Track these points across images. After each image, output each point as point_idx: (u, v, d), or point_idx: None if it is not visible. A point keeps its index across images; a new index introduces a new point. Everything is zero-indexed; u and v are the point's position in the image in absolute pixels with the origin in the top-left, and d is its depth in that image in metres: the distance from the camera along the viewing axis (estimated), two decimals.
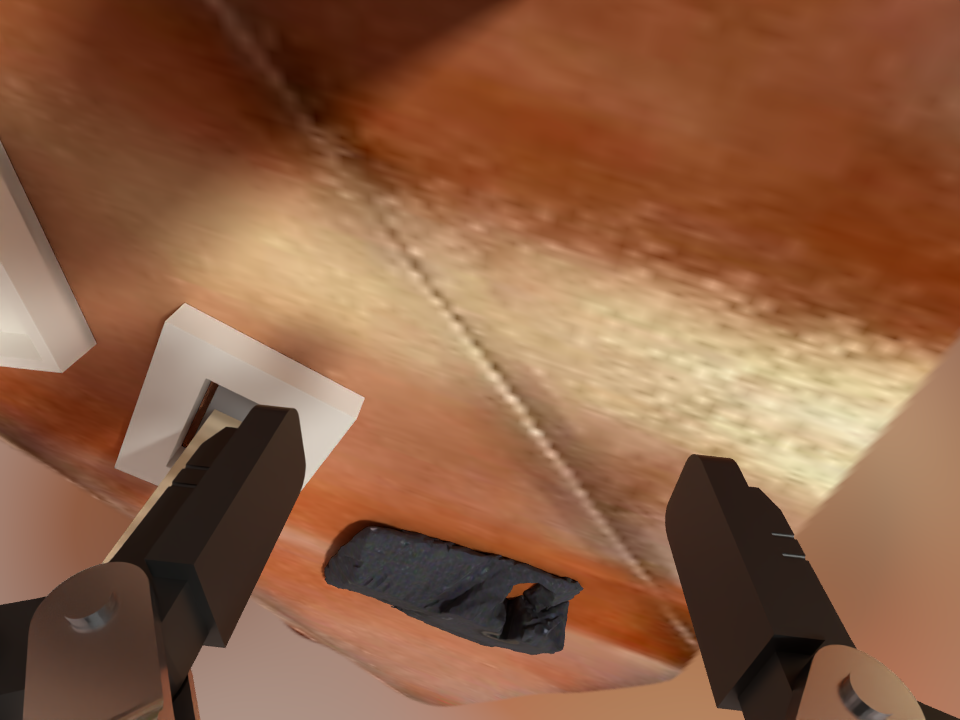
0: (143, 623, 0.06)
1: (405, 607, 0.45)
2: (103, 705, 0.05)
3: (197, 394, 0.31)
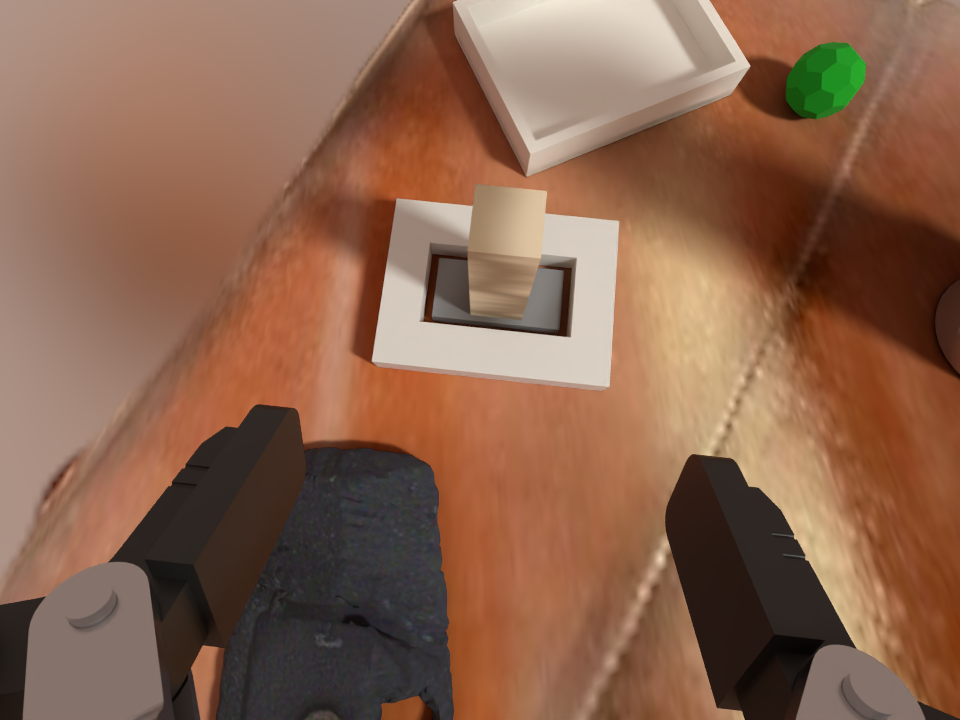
0: (143, 623, 0.06)
1: (299, 577, 0.30)
2: (103, 705, 0.05)
3: (552, 254, 0.35)
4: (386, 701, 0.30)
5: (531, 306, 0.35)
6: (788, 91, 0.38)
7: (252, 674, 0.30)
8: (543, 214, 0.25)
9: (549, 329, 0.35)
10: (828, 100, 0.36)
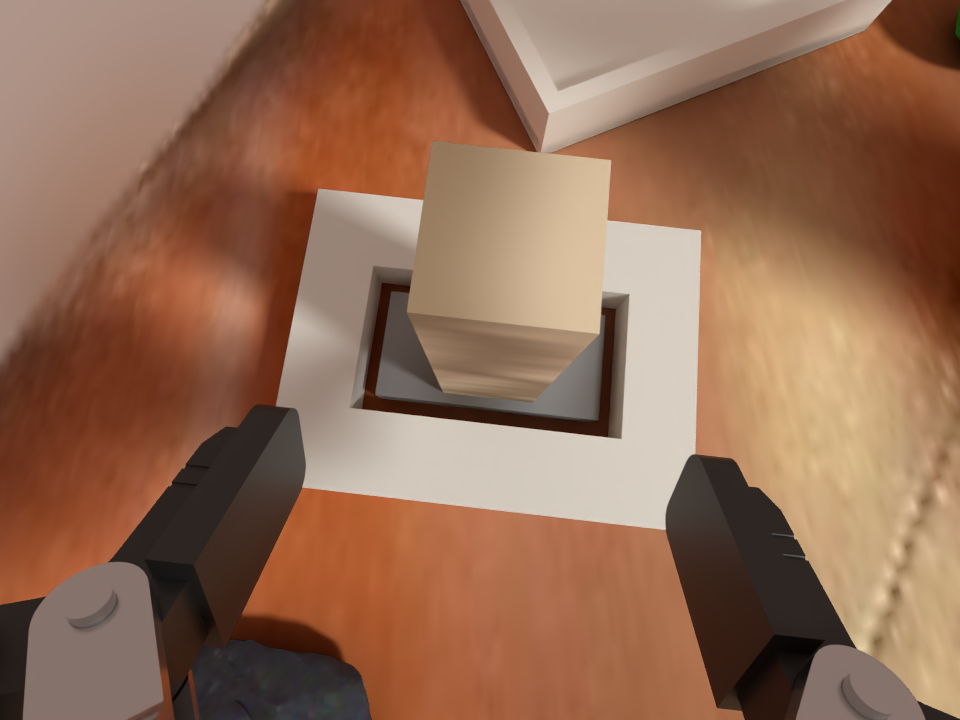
0: (143, 623, 0.06)
1: None
2: (103, 705, 0.05)
3: None
4: None
5: None
6: None
7: None
8: (603, 218, 0.10)
9: (581, 418, 0.20)
10: None
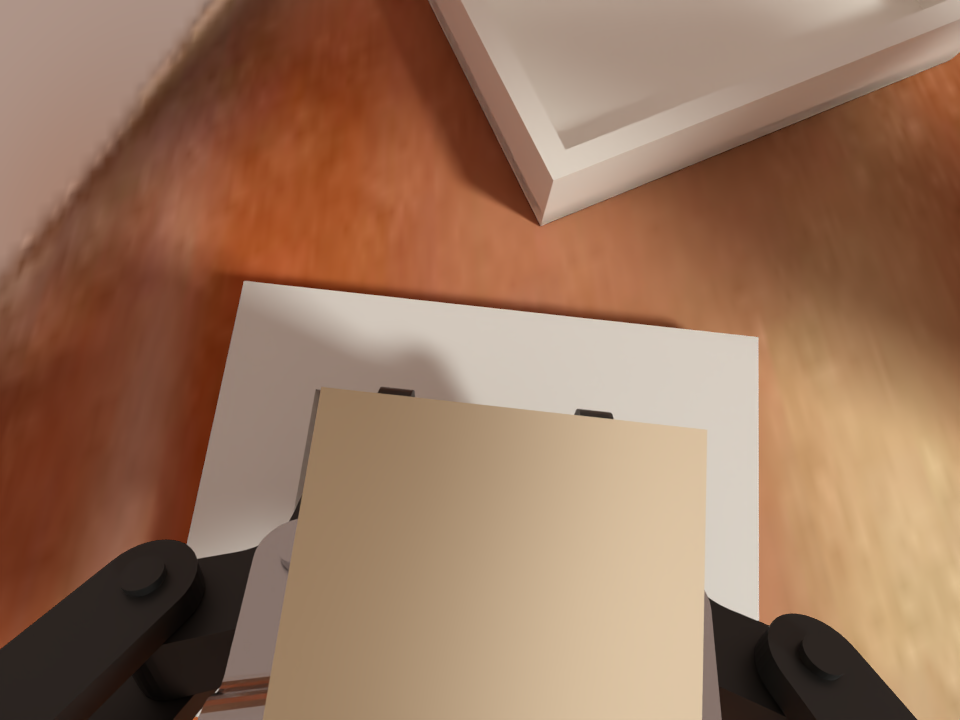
0: None
1: None
2: None
3: None
4: None
5: None
6: None
7: None
8: (697, 577, 0.04)
9: None
10: None
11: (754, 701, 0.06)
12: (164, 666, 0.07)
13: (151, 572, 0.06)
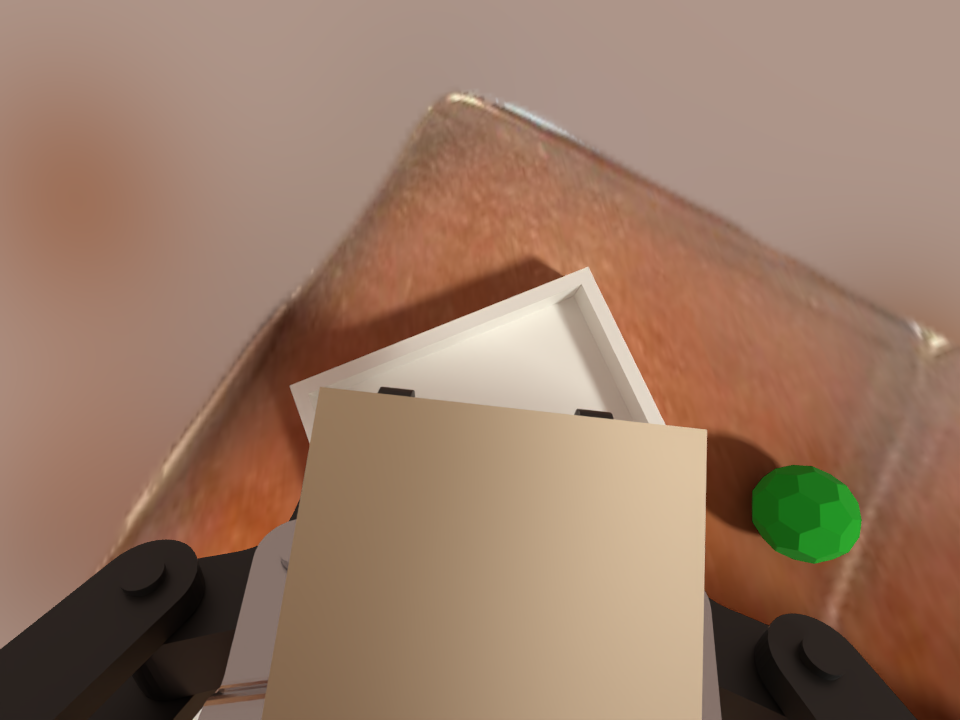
0: None
1: None
2: None
3: None
4: None
5: None
6: (754, 519, 0.27)
7: None
8: (697, 577, 0.04)
9: None
10: (807, 558, 0.26)
11: (754, 701, 0.06)
12: (164, 666, 0.07)
13: (151, 572, 0.06)
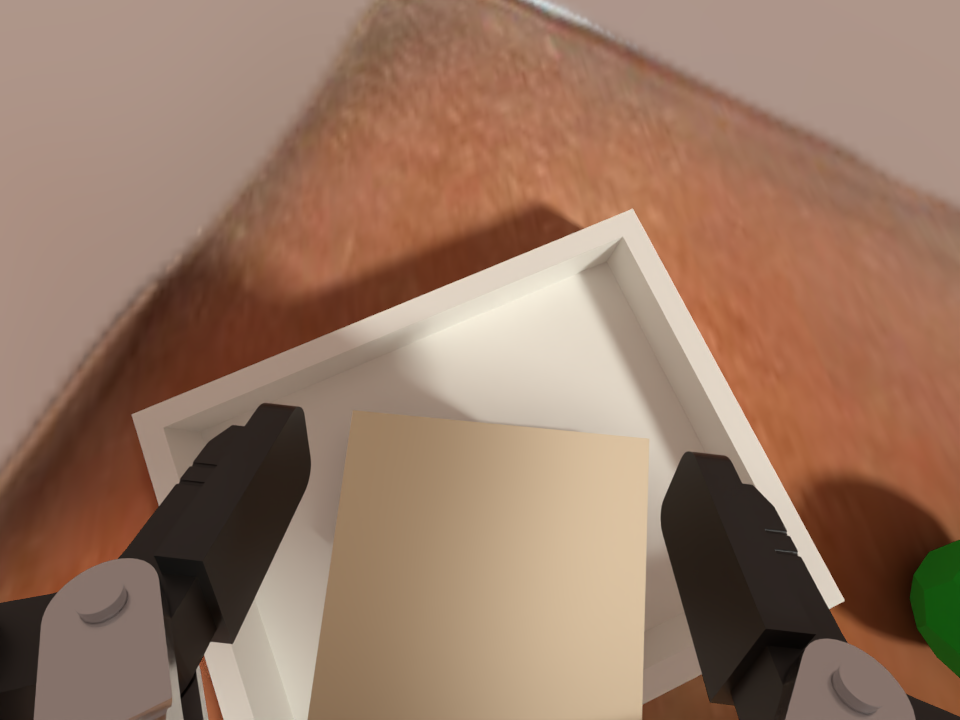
0: (153, 618, 0.06)
1: None
2: (113, 701, 0.05)
3: None
4: None
5: None
6: (927, 629, 0.16)
7: None
8: (640, 550, 0.06)
9: None
10: None
11: None
12: None
13: None
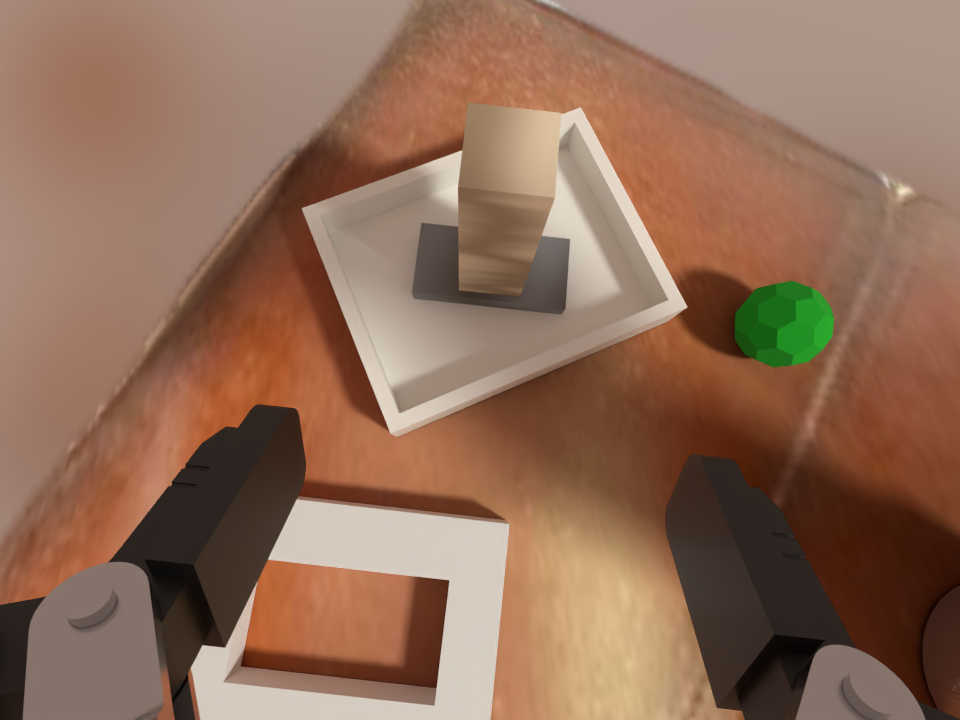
0: (143, 623, 0.06)
1: None
2: (103, 705, 0.05)
3: (416, 575, 0.26)
4: None
5: (532, 280, 0.29)
6: (736, 333, 0.29)
7: None
8: (557, 142, 0.19)
9: (554, 307, 0.29)
10: (785, 358, 0.28)
11: None
12: None
13: None
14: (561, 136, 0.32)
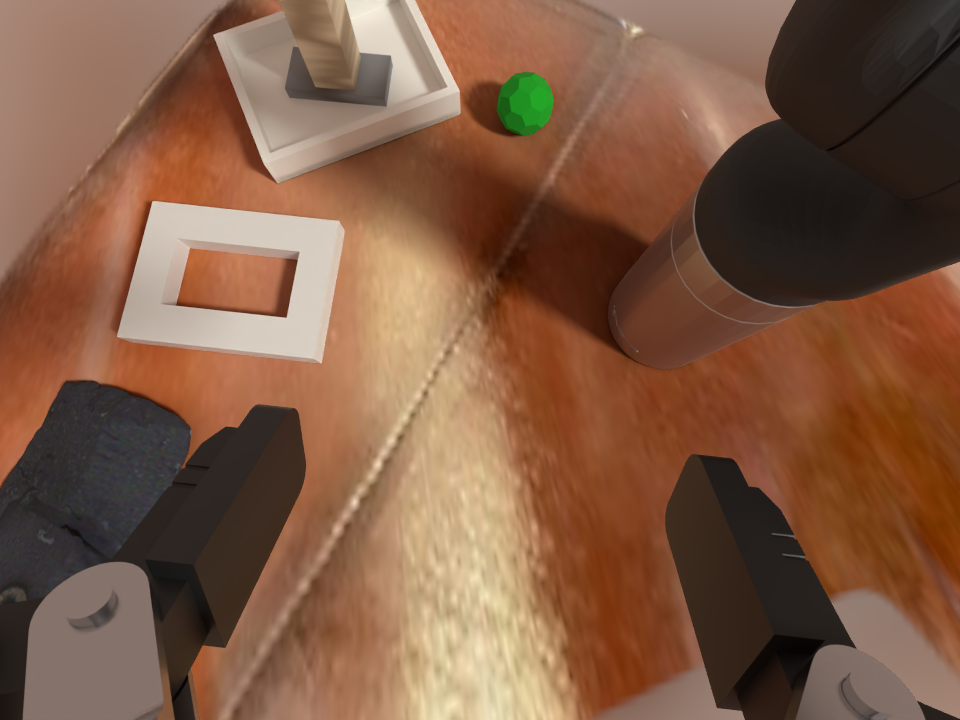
0: (143, 623, 0.06)
1: (49, 482, 0.37)
2: (103, 705, 0.05)
3: (279, 248, 0.42)
4: None
5: (363, 81, 0.45)
6: (497, 112, 0.45)
7: None
8: None
9: (377, 97, 0.45)
10: (519, 120, 0.43)
11: None
12: None
13: None
14: None
